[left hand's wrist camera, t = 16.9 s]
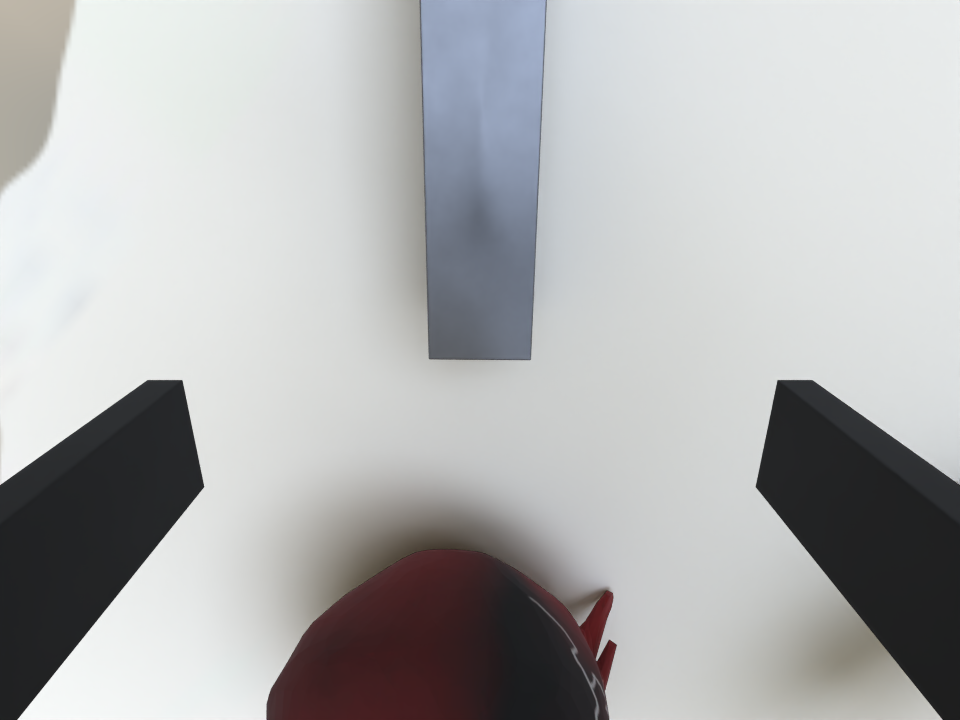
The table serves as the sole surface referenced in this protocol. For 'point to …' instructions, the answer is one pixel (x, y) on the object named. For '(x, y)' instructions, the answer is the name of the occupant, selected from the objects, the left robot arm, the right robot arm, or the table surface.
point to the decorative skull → (447, 649)
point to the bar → (481, 173)
